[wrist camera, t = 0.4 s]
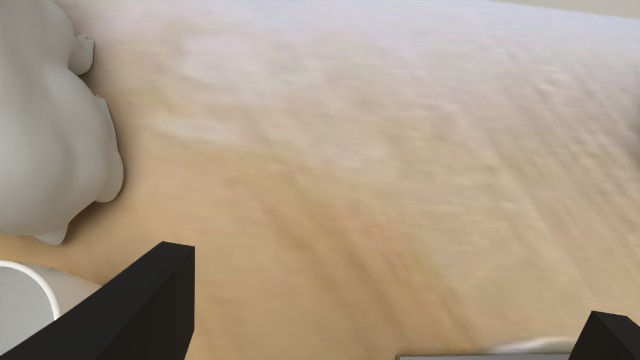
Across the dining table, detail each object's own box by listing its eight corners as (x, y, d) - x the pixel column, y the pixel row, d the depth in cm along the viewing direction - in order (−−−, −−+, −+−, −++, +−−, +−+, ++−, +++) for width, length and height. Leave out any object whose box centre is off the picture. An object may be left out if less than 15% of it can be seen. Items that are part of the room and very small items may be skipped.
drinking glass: (59, 299, 38) (-103, 286, 24) (149, 268, 39) (44, 237, 24) (79, 394, 37) (-81, 441, 22) (173, 360, 37) (76, 385, 23)
